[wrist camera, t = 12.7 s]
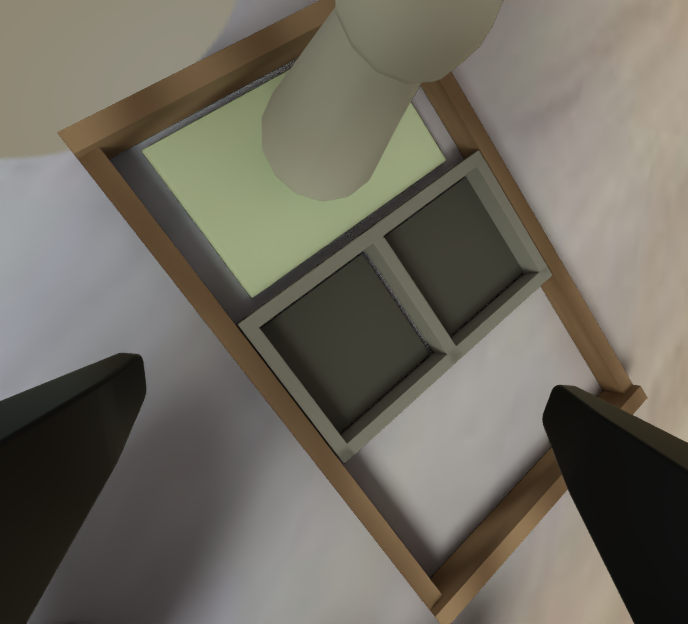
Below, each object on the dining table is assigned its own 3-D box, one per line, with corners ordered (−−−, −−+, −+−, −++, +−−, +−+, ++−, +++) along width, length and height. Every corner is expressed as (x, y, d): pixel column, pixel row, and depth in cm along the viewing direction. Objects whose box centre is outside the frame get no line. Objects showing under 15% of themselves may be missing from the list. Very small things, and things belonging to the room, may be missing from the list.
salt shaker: (235, 123, 20) (273, -180, 8) (332, 88, 22) (488, -208, 10) (288, 230, 21) (399, 101, 9) (379, 188, 23) (578, 32, 10)
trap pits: (335, 454, 22) (344, 463, 21) (235, 324, 21) (237, 324, 19) (534, 277, 26) (552, 275, 25) (463, 160, 25) (478, 150, 24)
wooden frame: (426, 605, 24) (445, 629, 22) (72, 151, 19) (57, 132, 17) (618, 392, 29) (647, 397, 27) (381, -9, 24) (396, -38, 22)
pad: (251, 298, 21) (252, 298, 20) (143, 153, 19) (141, 150, 19) (442, 162, 25) (446, 160, 24) (363, 32, 23) (365, 28, 23)
